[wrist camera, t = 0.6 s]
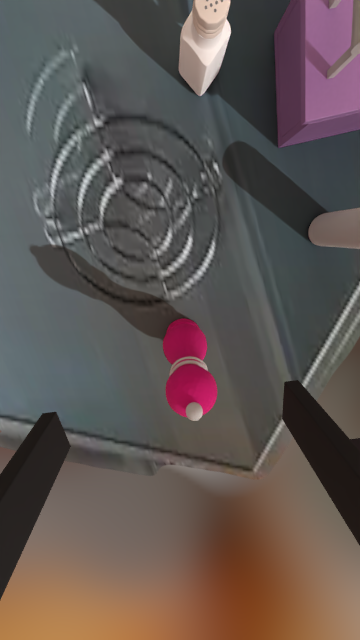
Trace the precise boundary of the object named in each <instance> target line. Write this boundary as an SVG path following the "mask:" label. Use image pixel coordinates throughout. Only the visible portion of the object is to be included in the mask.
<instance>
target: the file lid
mask: <svg viewBox="0 0 360 640" xmlns="http://www.w3.org/2000/svg"><path fill="white" fill-rule="evenodd" d="M357 112H360V0H301V125H305V124H309V123H314V122H318V121H322V120H326V119H331V118H335V117H339V116H344V115H348V114H352V113H357Z"/></svg>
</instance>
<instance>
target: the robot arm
mask: <svg viewBox="0 0 360 640" xmlns="http://www.w3.org/2000/svg"><path fill="white" fill-rule="evenodd" d="M282 419H283V421H284V422H285V424H286V426H287V427H288V429H289V431H290V432H291V434H292V435H293V437H294V439H295V440H296V442H297V444H298V445H299V447H300V449H301V450H302V452H303V453H304V455H305V457H306V458H307V460H308V462H309V463H310V465H311V467H312V468H313V470H314V471H315V473H316V475H317V476H318V478H319V480H320V481H321V483H322V485H323V486H324V488H325V489H326V491H327V493H328V494H329V496H330V498H331V499H332V501H333V503H334V504H335V506H336V508H337V509H338V511H339V512H340V514H341V516H342V517H343V519H344V521H345V522H346V524H347V526H348V527H349V529H350V530H351V532H352V533H353V535H354V537H355V538H356V540H357V542H358V543H359V545H360V438H358V439H349V438H348V437H347V436H346V435H345V433H344V432H343V431H342V430H341V429H340V428H339V427H338V425H337V424H336V423H335V422H334V421H333V420H332V419H331V417H330V416H329V415H328V414H327V413H326V412H325V411H324V409H323V408H322V407H321V406H320V405H319V404H318V403H317V401H316V400H315V399H314V398H313V397H312V396H311V395H310V393H309V392H308V391H307V390H306V389H305V388H304V387H303V385H302V384H301V383H300V382H299V381H298V380H296V381H288V382H285V383H284V399H283V415H282ZM70 447H71V446H70V444H69V441H68V439H67V437H66V434H65V432H64V429H63V427H62V425H61V422H60V420H59V418H58V415H57V413H56V412H51V413H43V414H42V415H41V417H40V418H39V420H38V421H37V423H36V424H35V425H34V427H33V428H32V430H31V431H30V433H29V434H28V435H27V437H26V438H25V440H24V441H23V443H22V444H21V445H20V447H19V448H18V450H17V451H16V453H15V454H14V456H13V457H12V458H11V460H10V461H9V463H8V464H7V466H6V467H5V468H4V470H3V471H2V473H1V474H0V599H1V597H2V595H3V593H4V591H5V588H6V586H7V584H8V582H9V580H10V577H11V575H12V573H13V571H14V569H15V567H16V564H17V562H18V560H19V558H20V556H21V554H22V551H23V549H24V547H25V545H26V543H27V540H28V538H29V536H30V534H31V532H32V530H33V527H34V525H35V523H36V521H37V519H38V516H39V514H40V512H41V510H42V508H43V506H44V503H45V501H46V499H47V497H48V495H49V492H50V490H51V488H52V486H53V483H54V481H55V479H56V477H57V475H58V473H59V471H60V468H61V466H62V464H63V462H64V460H65V458H66V455H67V453H68V451H69V449H70Z"/></svg>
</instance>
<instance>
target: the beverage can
mask: <svg viewBox="0 0 360 640" xmlns="http://www.w3.org/2000/svg"><path fill="white" fill-rule="evenodd" d="M308 234H309V238H310V240H311V242H312V243H313V244H315V245H319V246H330V247H344V248H358V249H360V208H355V209H348V210H342V211H336V212H329V213H324V214H321V215H319V216H318V217H316V218H315V219H314V220H313V221H312V223H311V224H310V227H309V232H308Z"/></svg>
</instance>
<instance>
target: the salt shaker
mask: <svg viewBox="0 0 360 640" xmlns="http://www.w3.org/2000/svg"><path fill="white" fill-rule="evenodd" d="M229 7H230V0H193V9H192V12H191V13H190V15H189V17H188V18H187V20H186V22H185V24H184V26H183V27H182V31H181V38H180V55H179V73H180V75H181V76H182V77H183V78H184V80H185V81H186V82H187V83H188V84H189V86H190V87H191V88H192V89H193V90H194V91H195V93H196V94H197V95H198V96H201V95H203V94H204V93H205V91H206V90H207V88H208V87H209V85H210V84H211V83H212V81H213V80H214V78H215V77H216V76H217V74H218V73H219V70H220V67H221V64H222V60H223V57H224V54H225V51H226V47H227V44H228V41H229V38H230V34H231V29H230V24H229V22H228V21H227V19H226V18H227V14H228V11H229Z"/></svg>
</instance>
